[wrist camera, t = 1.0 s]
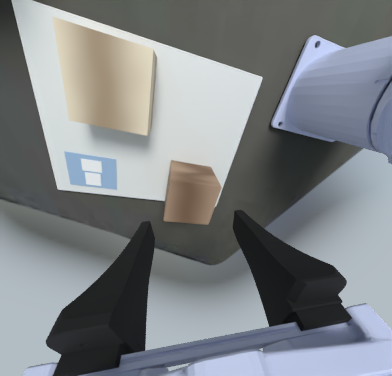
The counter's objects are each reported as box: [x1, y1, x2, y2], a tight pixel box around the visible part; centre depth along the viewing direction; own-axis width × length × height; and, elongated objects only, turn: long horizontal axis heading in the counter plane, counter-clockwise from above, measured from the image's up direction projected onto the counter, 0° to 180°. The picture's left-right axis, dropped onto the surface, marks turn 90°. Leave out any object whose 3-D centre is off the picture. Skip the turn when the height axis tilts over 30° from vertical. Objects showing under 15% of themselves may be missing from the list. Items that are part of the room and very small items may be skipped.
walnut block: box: [164, 160, 222, 225], centre depth 18 cm, size 5×5×5 cm
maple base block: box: [52, 16, 157, 136], centre depth 13 cm, size 6×6×3 cm
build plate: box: [11, 0, 263, 207], centre depth 17 cm, size 20×16×1 cm
